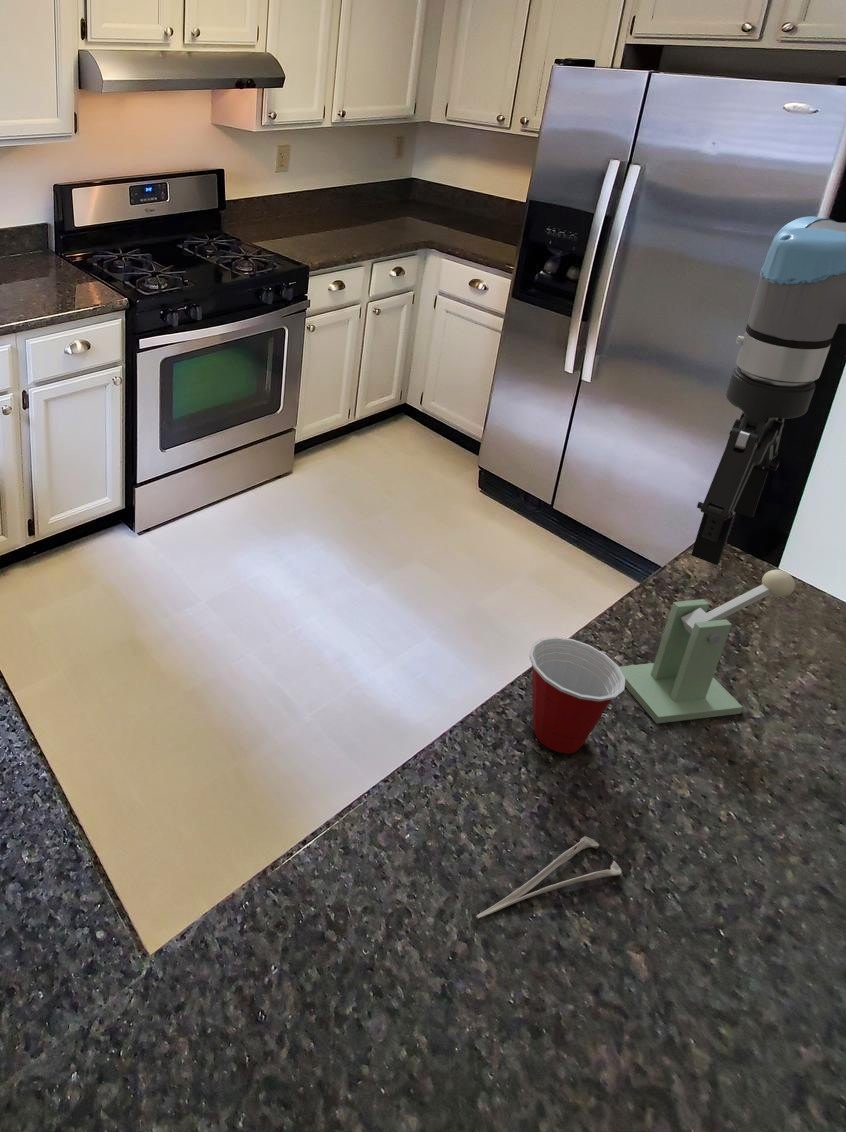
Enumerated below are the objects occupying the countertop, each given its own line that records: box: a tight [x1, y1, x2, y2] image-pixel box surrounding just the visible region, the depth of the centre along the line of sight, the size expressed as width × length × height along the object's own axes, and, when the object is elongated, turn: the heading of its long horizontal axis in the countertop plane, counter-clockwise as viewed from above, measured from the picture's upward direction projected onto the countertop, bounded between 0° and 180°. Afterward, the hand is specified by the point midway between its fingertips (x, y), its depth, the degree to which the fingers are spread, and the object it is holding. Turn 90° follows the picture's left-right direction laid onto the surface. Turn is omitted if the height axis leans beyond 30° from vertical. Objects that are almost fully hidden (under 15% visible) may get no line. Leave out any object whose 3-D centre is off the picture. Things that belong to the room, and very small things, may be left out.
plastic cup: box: [528, 636, 626, 754], centre depth 99 cm, size 11×11×12 cm
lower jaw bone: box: [475, 835, 623, 920], centre depth 84 cm, size 17×5×2 cm, turn 111°
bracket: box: [619, 598, 743, 725], centre depth 105 cm, size 12×9×14 cm
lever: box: [681, 569, 796, 634], centre depth 102 cm, size 14×3×3 cm
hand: (723, 535), depth 96 cm, fingers open, 13 cm apart
